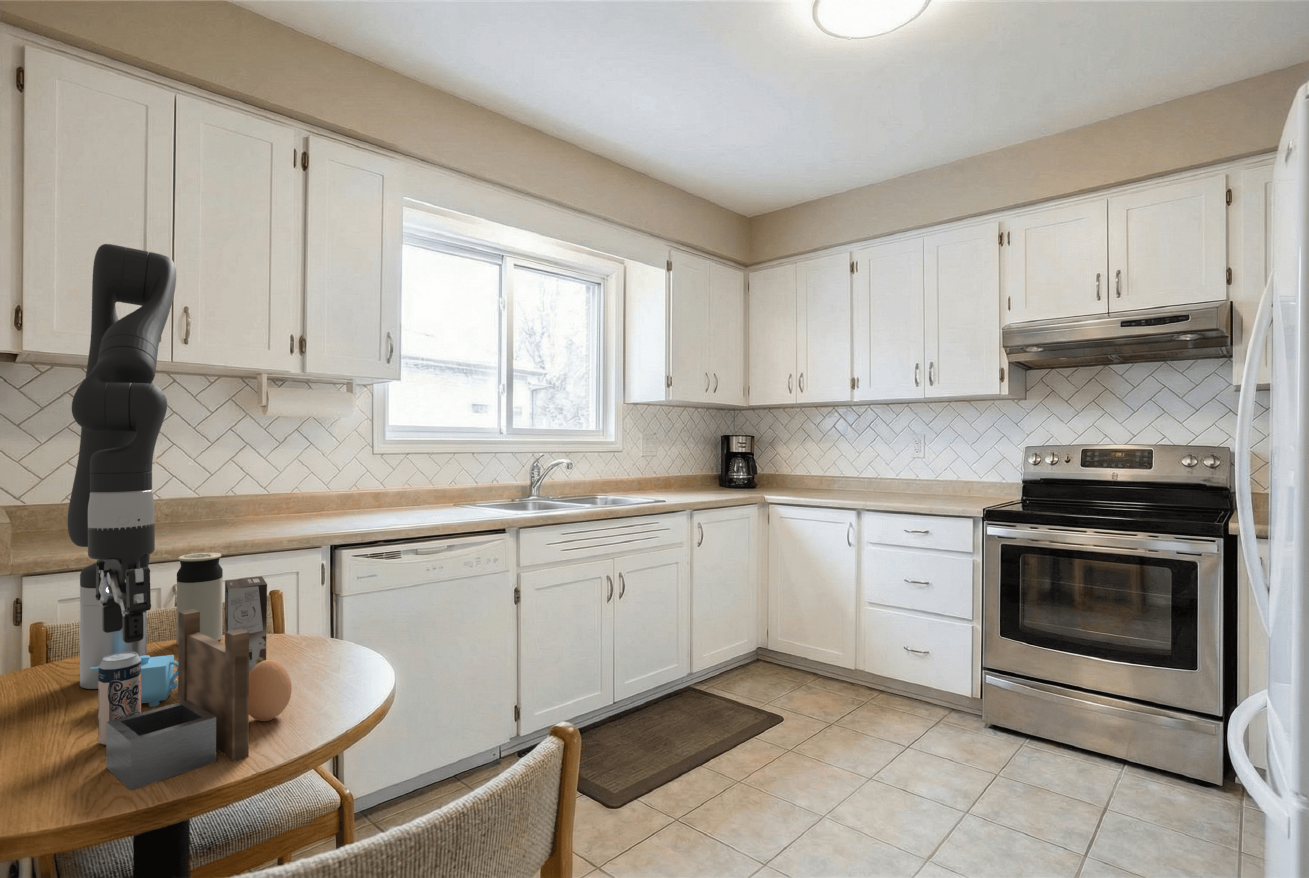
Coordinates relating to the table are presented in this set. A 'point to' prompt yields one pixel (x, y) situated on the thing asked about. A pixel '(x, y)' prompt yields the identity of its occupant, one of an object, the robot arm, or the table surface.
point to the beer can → (118, 689)
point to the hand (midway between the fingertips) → (122, 636)
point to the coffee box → (248, 613)
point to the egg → (268, 690)
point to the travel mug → (202, 590)
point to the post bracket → (160, 743)
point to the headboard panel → (216, 681)
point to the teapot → (156, 678)
